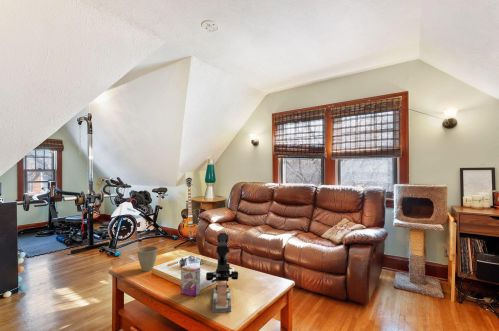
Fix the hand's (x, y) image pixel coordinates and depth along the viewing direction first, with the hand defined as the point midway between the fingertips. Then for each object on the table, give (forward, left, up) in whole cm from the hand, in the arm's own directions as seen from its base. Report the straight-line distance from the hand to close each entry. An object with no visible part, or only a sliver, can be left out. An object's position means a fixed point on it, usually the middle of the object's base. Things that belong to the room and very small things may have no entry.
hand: (222, 291), depth 146 cm
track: (-3, +2, -8) cm, 9 cm away
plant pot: (-78, -21, -8) cm, 82 cm away
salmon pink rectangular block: (+2, -1, -6) cm, 7 cm away
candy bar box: (-23, -9, -8) cm, 26 cm away
